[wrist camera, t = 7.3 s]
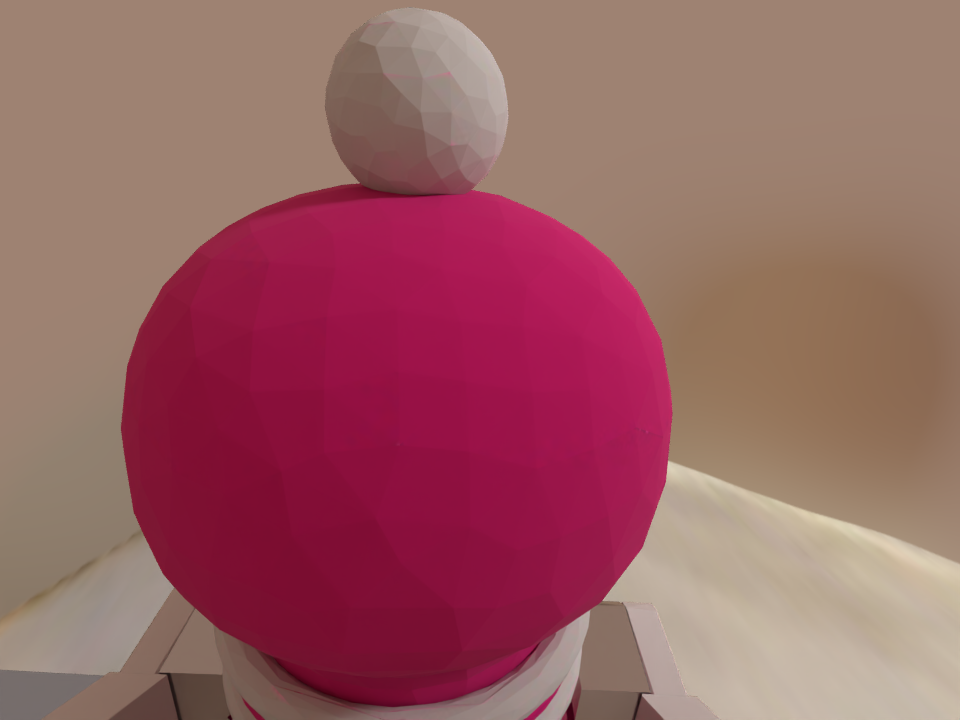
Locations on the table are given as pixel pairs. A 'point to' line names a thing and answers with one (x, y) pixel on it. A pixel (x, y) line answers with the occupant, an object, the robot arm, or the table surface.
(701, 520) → the table surface
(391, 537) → the pepper mill
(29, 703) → the vise
